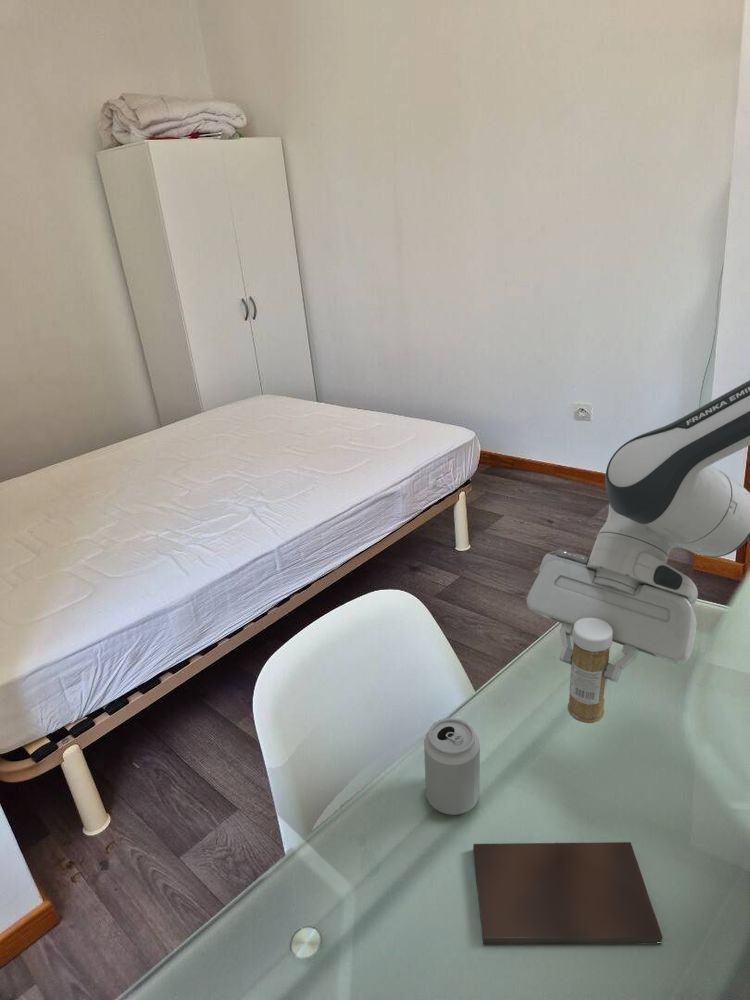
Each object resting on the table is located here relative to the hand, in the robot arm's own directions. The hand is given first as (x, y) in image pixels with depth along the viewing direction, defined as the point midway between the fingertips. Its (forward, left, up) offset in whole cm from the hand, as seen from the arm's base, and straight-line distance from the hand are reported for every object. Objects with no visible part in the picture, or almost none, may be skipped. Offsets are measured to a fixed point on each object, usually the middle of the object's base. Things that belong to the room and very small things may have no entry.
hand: (587, 671), depth 84 cm
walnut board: (+8, +12, -23) cm, 27 cm away
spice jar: (0, 0, -7) cm, 7 cm away
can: (+16, -5, -23) cm, 29 cm away
